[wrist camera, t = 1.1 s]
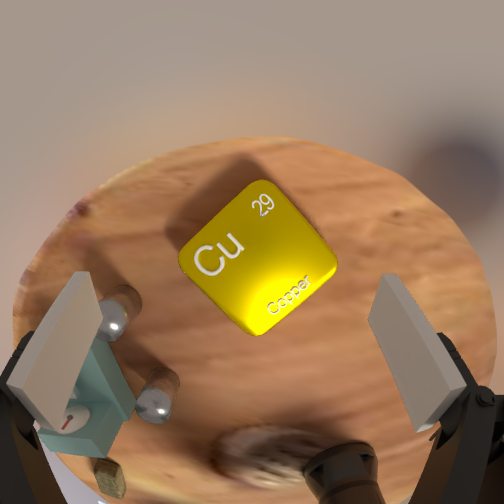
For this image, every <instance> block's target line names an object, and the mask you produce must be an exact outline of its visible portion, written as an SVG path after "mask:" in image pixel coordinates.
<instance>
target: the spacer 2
mask: <svg viewBox="0 0 504 504" xmlns="http://www.w3.org/2000/svg"><path fill="white" fill-rule="evenodd" d="M179 386H180V379H179V377H178V375H177V374H176V373H175V372H174V371H172V370H170V369H168V368H164V367H159V368H155V369H154V370H153V371H152V372H151V373H150V375H149V377H148V379H147V381H146V383H145V385H144V387H143V389H142V391H141V393H140V395H139V397H138V400H137V402H136V404H135V410H136V412H137V414H138V415H139V416H140V417H141V418H142V419H144V420H145V421H147V422H150V423H153V424H162V423H165V422H166V421H167V420H168V419H169V416H170V413H171V410H172V407H173V404H174V401H175V398H176V395H177V392H178V389H179Z"/></svg>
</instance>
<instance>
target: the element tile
mask: <svg viewBox="0 0 504 504" xmlns="http://www.w3.org/2000/svg"><path fill="white" fill-rule="evenodd" d="M178 263H179V265H180V268H181V269H182V271H183V272H184V273H185V274H186V275H187V276H188V277H189V278H190V279H191V280H192V281H193V282H194V283H195V284H196V285H197V286H198V287H199V288H200V289H201V290H202V291H203V292H204V293H205V294H206V295H207V296H208V297H209V298H210V299H211V300H212V301H213V302H214V303H215V304H216V305H217V306H218V307H219V308H220V309H221V310H222V311H223V312H224V313H225V314H226V315H227V316H228V317H229V318H230V319H231V320H232V321H233V322H234V323H235V324H236V325H238V326H239V327H240V328H241V329H242V330H243V331H244V332H245V333H247V334H249V335H252V336H259V335H263V334H265V333H266V332H268V331H269V330H270V329H272V328H273V327H274V326H275V325H276V324H278V323H279V322H280V321H281V320H283V319H284V318H285V317H286V316H287V315H289V314H290V313H291V312H292V311H293V310H294V309H296V308H297V307H298V306H299V305H300V304H302V303H303V302H304V301H305V300H306V299H307V298H309V297H310V296H311V295H312V294H313V293H314V292H315V291H317V290H318V289H319V288H320V287H321V286H322V285H323V284H325V283H326V282H327V281H328V280H329V279H330V278H331V277H332V276H333V275H334V274H335V272H336V270H337V268H338V260H337V257H336V255H335V253H334V252H333V251H332V249H331V248H330V247H329V246H328V245H327V244H326V242H325V241H324V240H323V239H322V238H321V236H320V235H319V234H318V233H317V232H316V231H315V229H314V228H313V227H312V226H311V225H310V224H309V223H308V221H307V220H306V219H305V218H304V217H303V216H302V215H301V213H300V212H299V211H298V210H297V209H296V208H295V207H294V206H293V204H292V203H291V202H290V201H289V200H288V199H287V198H286V197H285V195H284V194H283V193H282V192H281V191H280V190H279V189H278V188H277V187H276V186H275V185H274V184H273V183H271V182H269V181H267V180H257V181H254V182H252V183H250V184H249V185H248V186H247V187H246V188H245V189H243V190H242V191H241V192H240V193H239V194H238V195H237V196H236V197H235V198H234V199H233V200H232V201H230V202H229V203H228V204H227V205H226V206H225V207H224V208H223V209H222V210H221V211H220V212H219V213H218V214H217V215H216V216H215V217H213V218H212V219H211V220H210V221H209V222H208V223H207V224H206V225H205V226H204V227H203V228H202V229H201V230H200V231H199V232H198V233H197V234H196V235H195V236H194V237H193V238H192V239H191V240H190V241H189V242H187V243H186V244H185V245H184V246H183V248H182V249H181V250H180V253H179V255H178Z"/></svg>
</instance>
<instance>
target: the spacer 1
mask: <svg viewBox="0 0 504 504" xmlns="http://www.w3.org/2000/svg"><path fill="white" fill-rule="evenodd" d="M98 303H99V306H100V309H101V313H102V316H103V320H102V322H101V324H100V326H99V329H98V331H97V333H96V335H95V337H96V338H98V339H99V340H101V341H104V342H113V341H115V340H117V339H118V338H119V337H120V335H121V334H122V333H123V332H124V331H125V329H126V328H127V327H128V326H129V325H130V323H131V322H132V321H133V320H134V319H135V317H136V316H137V315H138V314H139V313H140V311H141V308H142V300H141V297H140V295H139V294H138V292H137V291H136V290H135V289H134V288H132V287H130V286H127V285H121V286H118V287H116V288H115V289H114V290H113V291H111V292H110V293H109V294H108V295H106V296H105V297H104V298H103V299H101V300H100V301H99V302H98Z"/></svg>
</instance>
